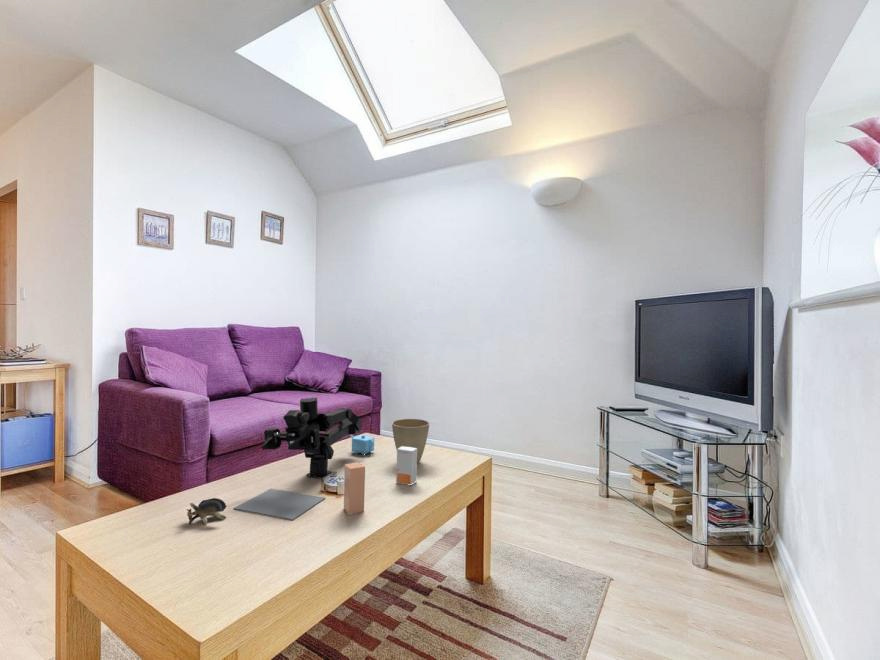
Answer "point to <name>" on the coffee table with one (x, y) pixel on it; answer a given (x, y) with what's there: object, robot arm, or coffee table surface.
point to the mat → (280, 504)
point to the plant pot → (411, 434)
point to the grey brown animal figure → (207, 510)
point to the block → (354, 487)
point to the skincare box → (406, 465)
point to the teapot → (362, 444)
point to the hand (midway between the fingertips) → (275, 447)
